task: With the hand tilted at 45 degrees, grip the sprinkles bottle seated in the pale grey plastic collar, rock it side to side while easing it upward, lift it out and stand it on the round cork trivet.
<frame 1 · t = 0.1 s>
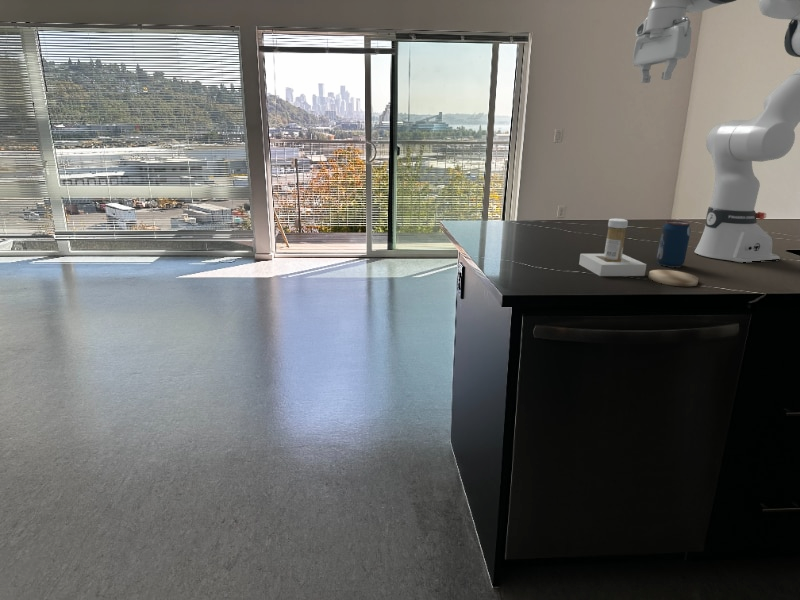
hand: (655, 81, 136), 48 cm above the countertop, tool pointing down, fingers open, 8 cm apart
soda can: (669, 265, 142), on the countertop
trivet: (672, 280, 126), on the countertop
sprinkles bottle: (610, 270, 135), resting in collar
collar: (610, 269, 135), on the countertop
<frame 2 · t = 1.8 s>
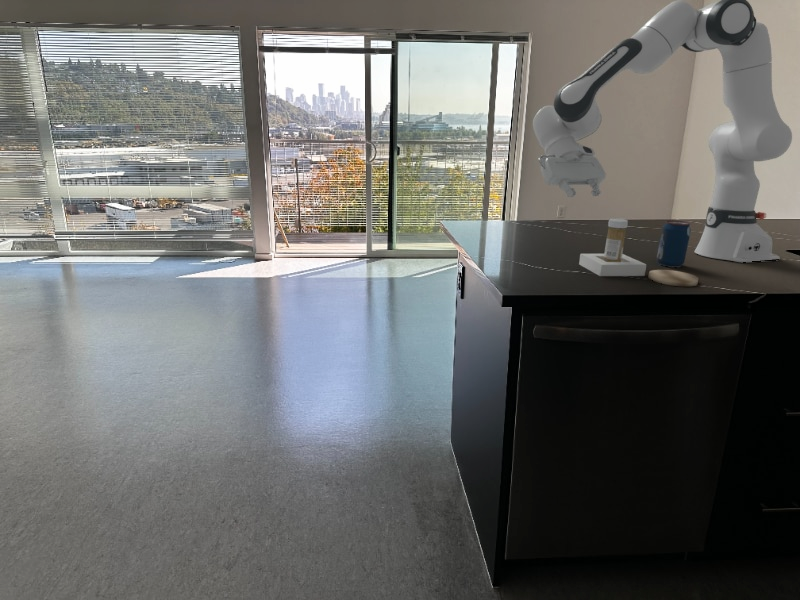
hand: (585, 195, 139), 18 cm above the countertop, tool tilted 45°, fingers open, 8 cm apart
nothing on the countertop moved.
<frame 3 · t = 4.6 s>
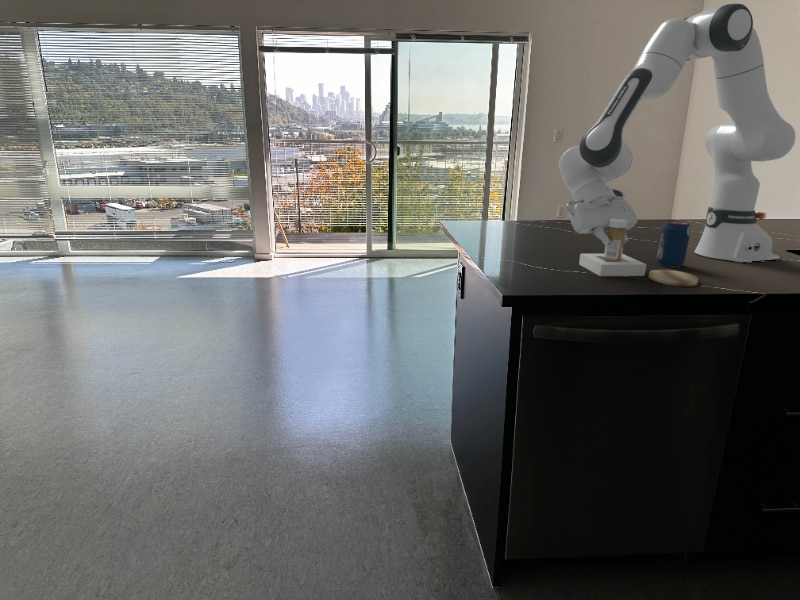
hand: (616, 243, 132), 7 cm above the countertop, tool tilted 45°, fingers closed on sprinkles bottle, 4 cm apart
sprinkles bottle: (610, 270, 135), resting in collar, touching gripper
everything else where it was.
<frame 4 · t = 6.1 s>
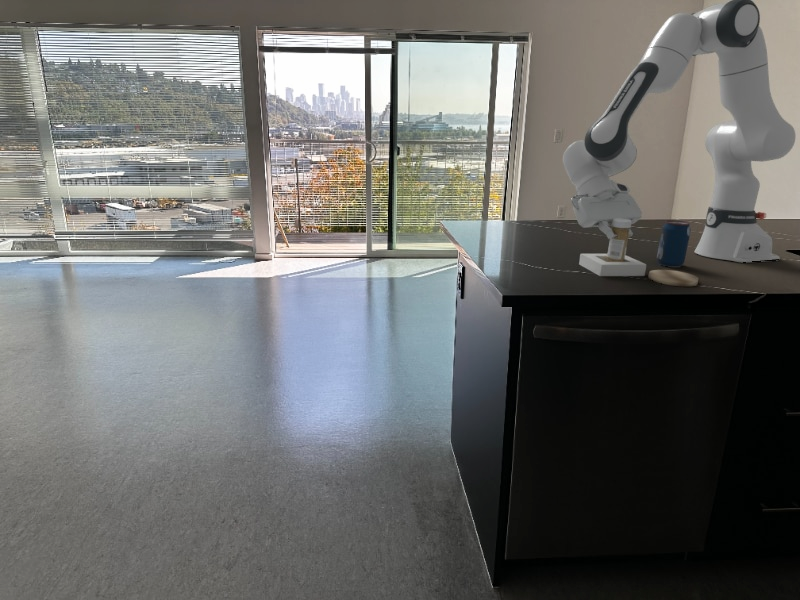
hand: (621, 237, 131), 9 cm above the countertop, tool tilted 45°, fingers open, 4 cm apart
sprinkles bottle: (613, 270, 135), resting in collar
everything else where it was.
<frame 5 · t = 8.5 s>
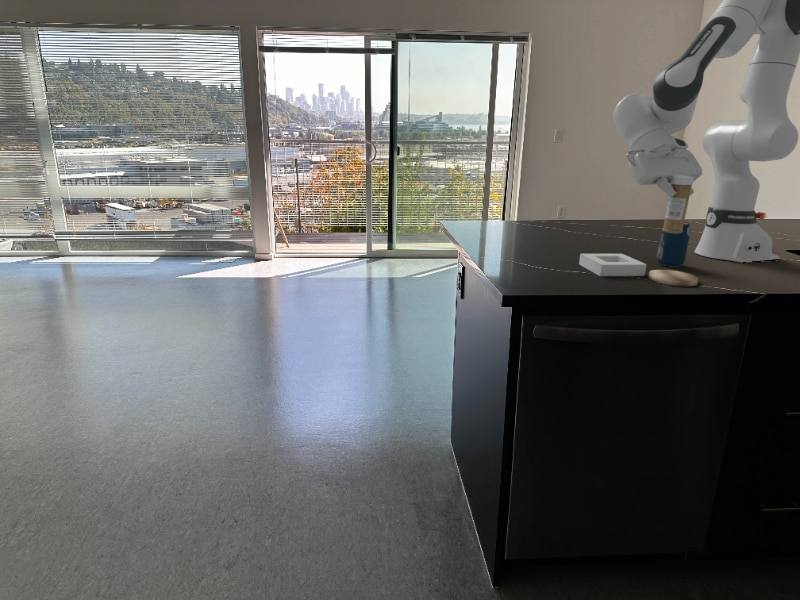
hand: (682, 195, 121), 21 cm above the countertop, tool tilted 45°, fingers closed on sprinkles bottle, 4 cm apart
sprinkles bottle: (671, 232, 124), point 12 cm above the countertop, touching gripper
everything else where it was.
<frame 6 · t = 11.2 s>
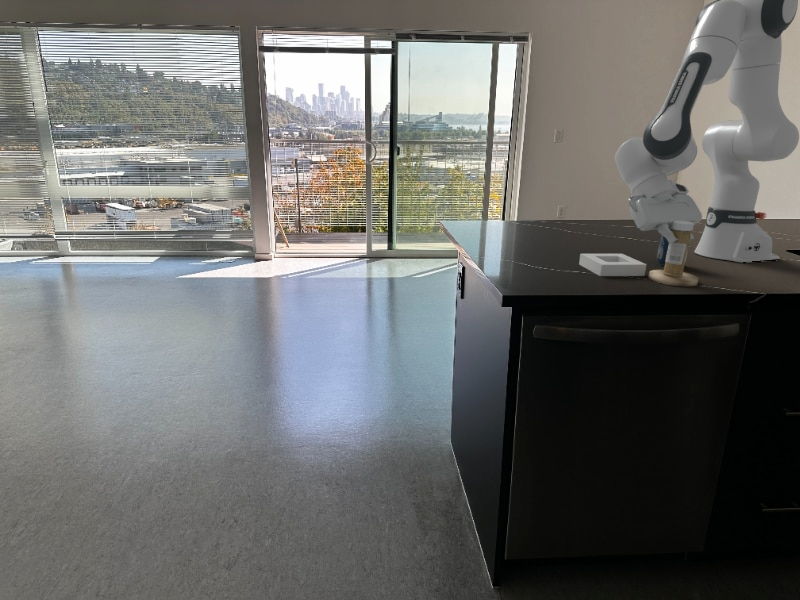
hand: (682, 241, 123), 10 cm above the countertop, tool tilted 45°, fingers closed on sprinkles bottle, 4 cm apart
sprinkles bottle: (672, 275, 126), point 1 cm above the countertop, touching gripper, trivet
everything else where it was.
when the fingers open (10 cm above the countertop, at t = 11.3 s): sprinkles bottle stays where it is, resting on trivet.
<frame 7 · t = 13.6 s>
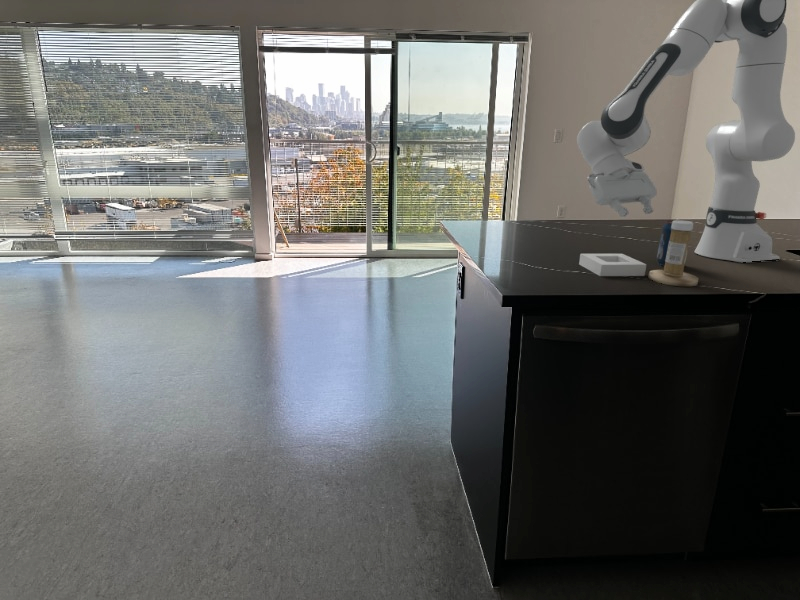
hand: (637, 214, 133), 14 cm above the countertop, tool tilted 45°, fingers open, 8 cm apart
sprinkles bottle: (672, 275, 126), point 1 cm above the countertop, touching trivet
everything else where it was.
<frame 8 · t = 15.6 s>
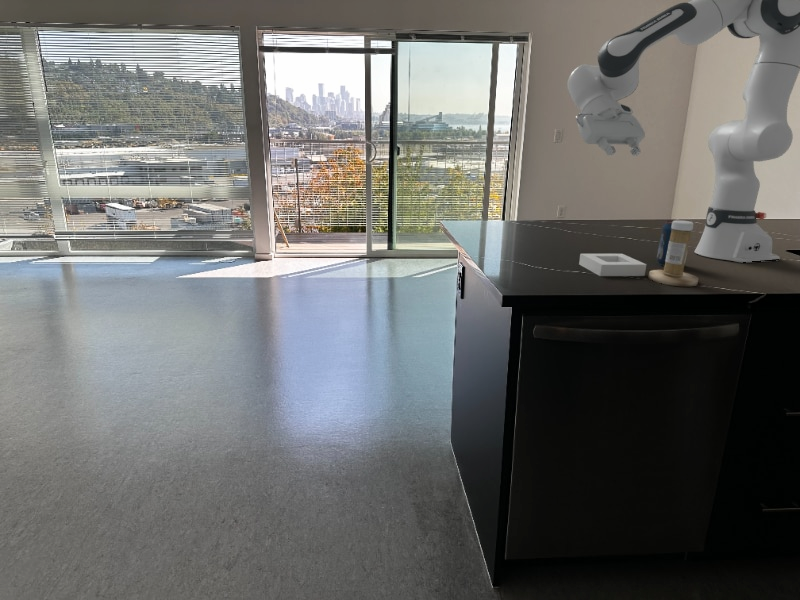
hand: (624, 153, 135), 29 cm above the countertop, tool tilted 45°, fingers open, 8 cm apart
nothing on the countertop moved.
at the end: sprinkles bottle 0.3 cm from the trivet (horizontally); sprinkles bottle tilted 0°; the gripper is holding nothing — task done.
